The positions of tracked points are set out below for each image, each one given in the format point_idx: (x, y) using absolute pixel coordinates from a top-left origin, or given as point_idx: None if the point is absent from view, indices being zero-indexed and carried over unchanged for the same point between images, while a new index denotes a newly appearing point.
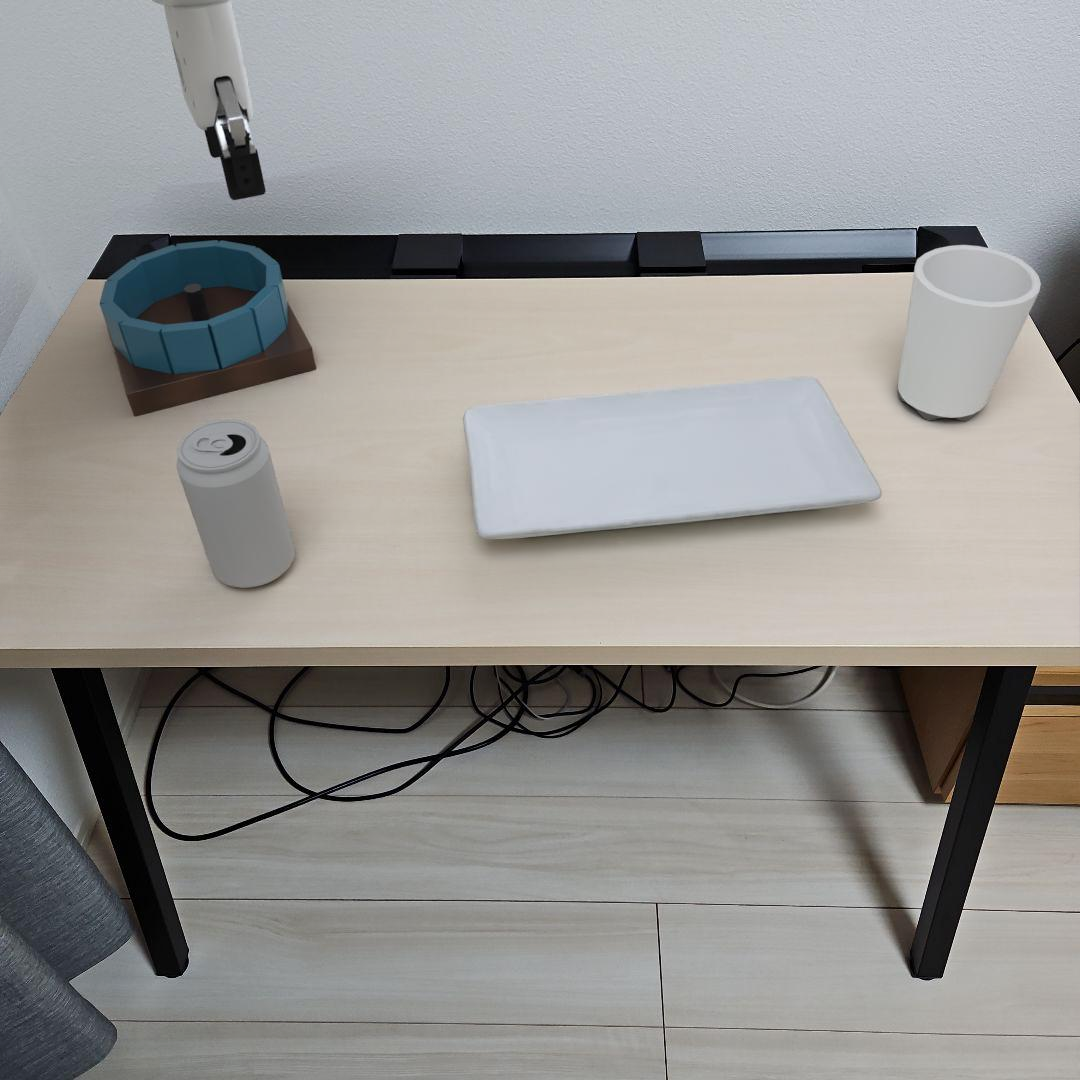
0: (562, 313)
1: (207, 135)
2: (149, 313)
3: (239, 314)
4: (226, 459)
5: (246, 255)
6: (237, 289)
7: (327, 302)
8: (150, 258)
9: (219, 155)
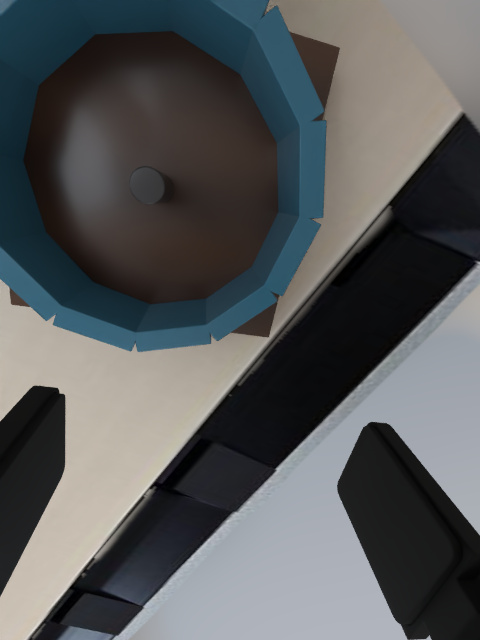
0: (35, 528)
1: (410, 480)
2: (248, 119)
3: None
4: None
5: (210, 318)
6: (232, 277)
7: (186, 363)
8: (301, 150)
9: (360, 439)
